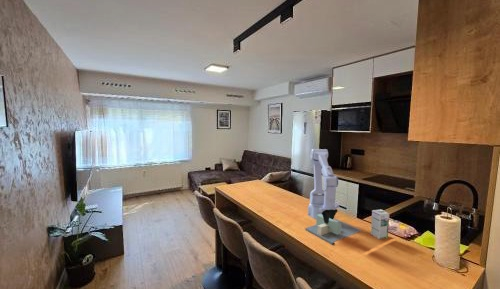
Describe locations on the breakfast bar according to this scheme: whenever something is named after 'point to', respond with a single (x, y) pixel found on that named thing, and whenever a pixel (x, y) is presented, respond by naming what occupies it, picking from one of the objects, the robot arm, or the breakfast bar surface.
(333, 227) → the cross plate
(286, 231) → the breakfast bar surface
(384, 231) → the syrup box
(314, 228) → the slotted base
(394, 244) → the breakfast bar surface
